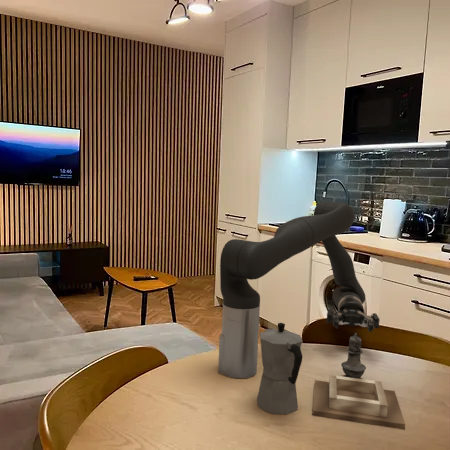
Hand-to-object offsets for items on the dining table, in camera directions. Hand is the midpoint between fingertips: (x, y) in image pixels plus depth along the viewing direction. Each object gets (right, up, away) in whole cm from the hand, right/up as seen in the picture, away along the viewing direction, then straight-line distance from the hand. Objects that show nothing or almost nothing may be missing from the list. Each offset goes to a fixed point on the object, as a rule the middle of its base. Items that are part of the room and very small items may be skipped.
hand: (353, 326), depth 121 cm
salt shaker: (-3, -11, -10) cm, 15 cm away
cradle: (-6, -12, -23) cm, 27 cm away
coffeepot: (-23, -12, -25) cm, 36 cm away
